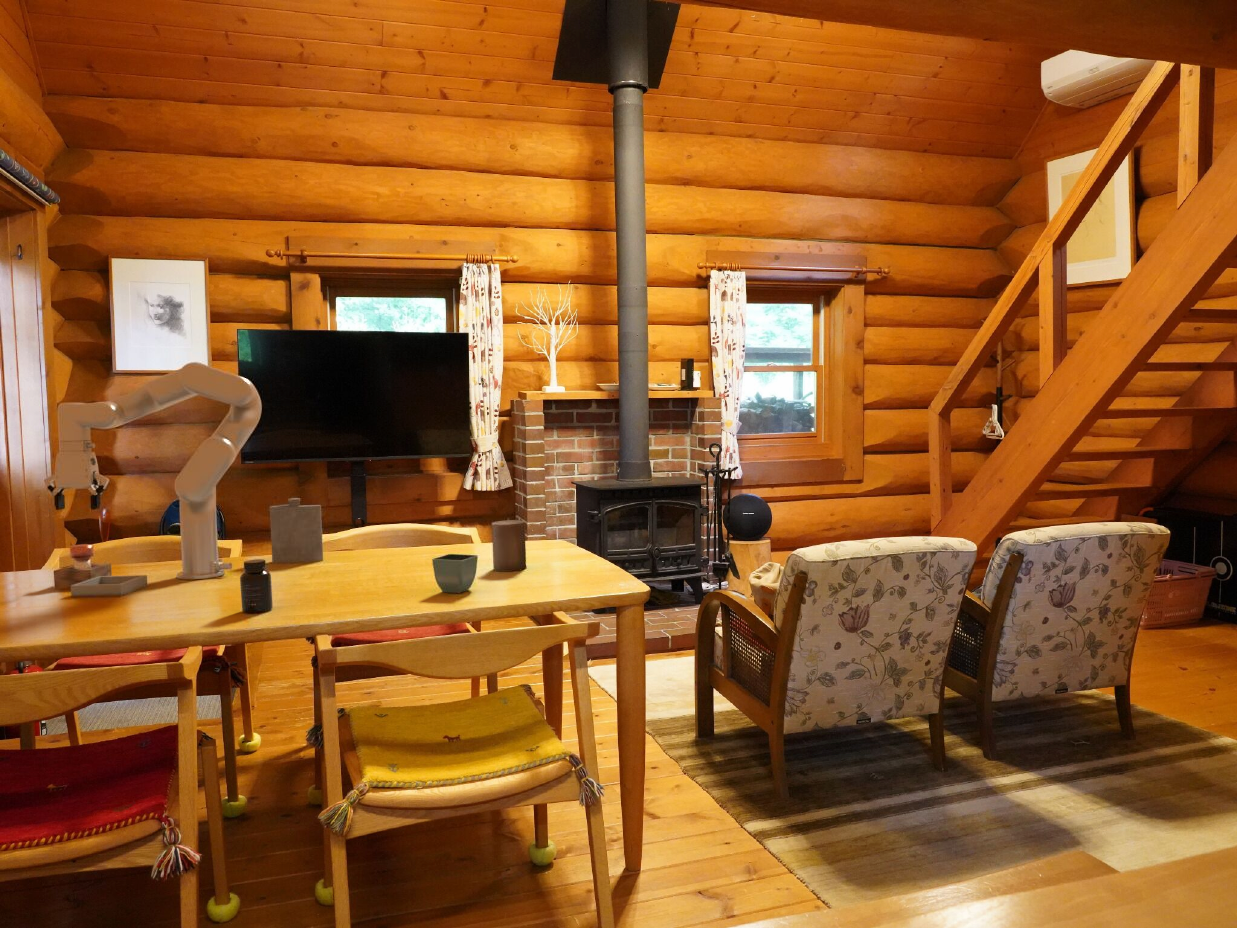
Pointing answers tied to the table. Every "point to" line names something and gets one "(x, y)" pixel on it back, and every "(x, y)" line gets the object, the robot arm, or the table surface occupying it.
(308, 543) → the hip flask
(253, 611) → the supplement bottle
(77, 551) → the pin
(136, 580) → the tray
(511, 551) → the pillar candle
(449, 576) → the flower pot
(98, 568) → the block
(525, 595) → the table surface
